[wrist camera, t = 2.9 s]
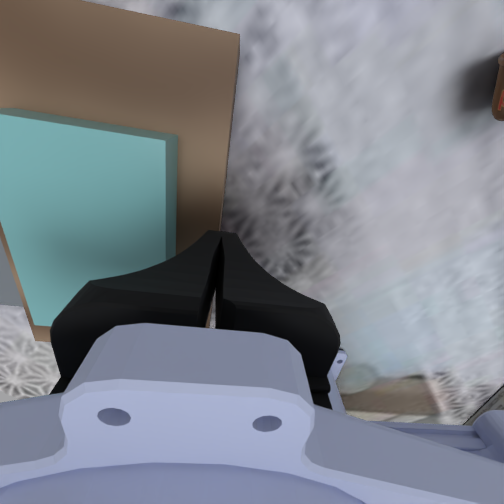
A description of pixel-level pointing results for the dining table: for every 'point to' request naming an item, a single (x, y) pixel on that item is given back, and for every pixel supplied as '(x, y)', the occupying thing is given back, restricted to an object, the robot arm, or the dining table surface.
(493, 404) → the coffee box
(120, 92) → the brown wooden block
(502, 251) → the dining table surface
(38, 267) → the teal block
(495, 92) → the tin
